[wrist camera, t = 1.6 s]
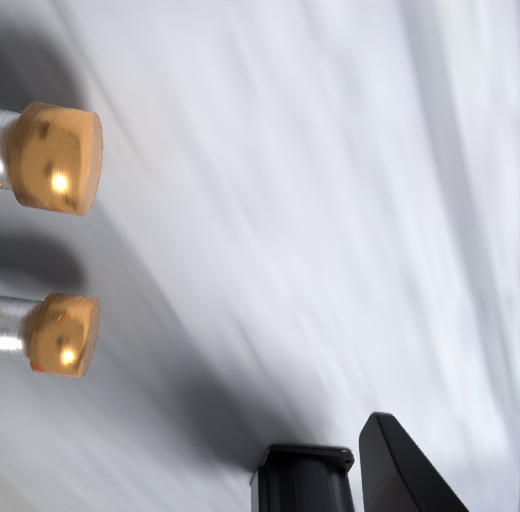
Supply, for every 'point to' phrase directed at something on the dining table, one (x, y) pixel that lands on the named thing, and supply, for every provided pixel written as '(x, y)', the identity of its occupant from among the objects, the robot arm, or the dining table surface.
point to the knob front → (51, 157)
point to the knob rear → (50, 332)
